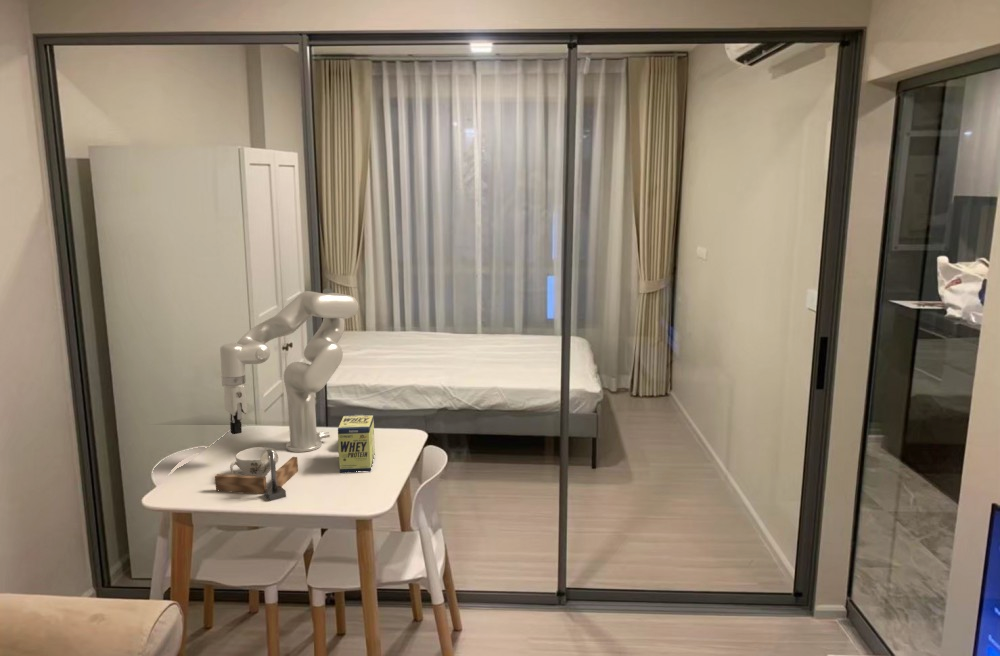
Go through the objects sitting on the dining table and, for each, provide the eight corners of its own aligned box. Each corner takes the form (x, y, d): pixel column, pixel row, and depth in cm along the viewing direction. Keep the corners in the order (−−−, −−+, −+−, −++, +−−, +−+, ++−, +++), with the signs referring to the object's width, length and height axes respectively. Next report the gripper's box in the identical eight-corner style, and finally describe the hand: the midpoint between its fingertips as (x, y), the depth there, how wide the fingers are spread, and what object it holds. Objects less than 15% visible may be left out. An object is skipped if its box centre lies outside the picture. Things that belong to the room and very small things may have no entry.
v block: (296, 470, 239) (296, 456, 238) (311, 481, 230) (310, 467, 229) (215, 490, 224) (213, 475, 223) (227, 503, 214) (225, 487, 213)
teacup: (267, 465, 244) (266, 443, 242) (284, 476, 234) (282, 453, 233) (223, 477, 234) (221, 454, 232) (239, 488, 225) (237, 464, 223)
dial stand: (279, 490, 223) (276, 447, 220) (286, 496, 218) (283, 453, 216) (262, 494, 220) (259, 451, 217) (269, 501, 215) (266, 457, 213)
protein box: (339, 473, 236) (337, 428, 233) (345, 456, 252) (343, 414, 249) (371, 472, 237) (369, 427, 234) (375, 455, 252) (373, 413, 250)
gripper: (252, 383, 235) (254, 436, 238) (238, 374, 247) (240, 425, 250) (229, 386, 231) (231, 440, 234) (215, 377, 242) (218, 429, 246)
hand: (236, 432), depth 242 cm, fingers closed
